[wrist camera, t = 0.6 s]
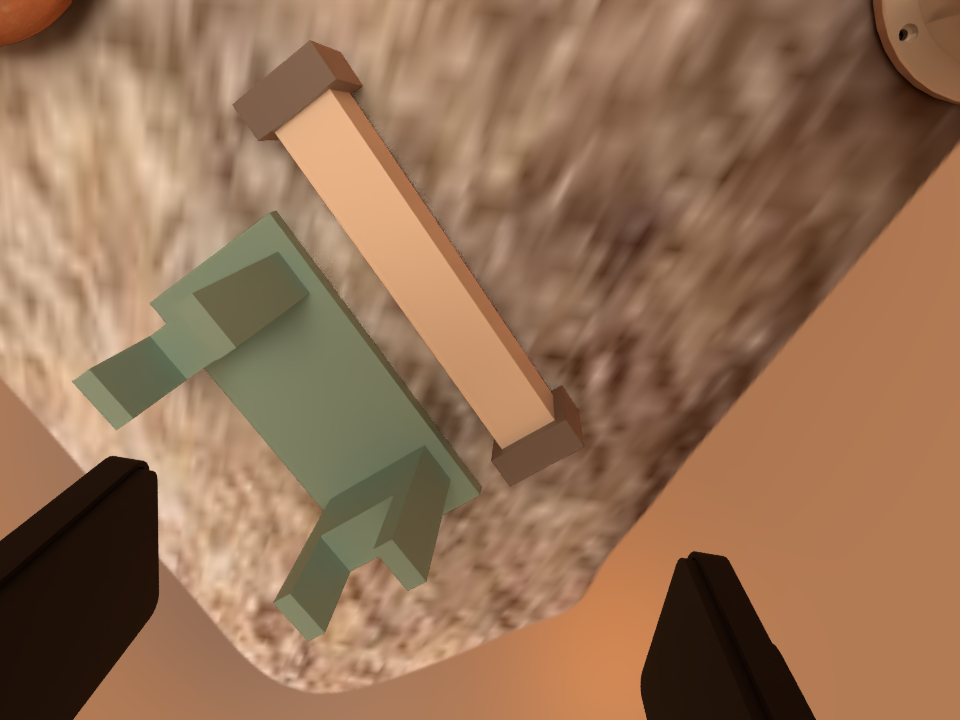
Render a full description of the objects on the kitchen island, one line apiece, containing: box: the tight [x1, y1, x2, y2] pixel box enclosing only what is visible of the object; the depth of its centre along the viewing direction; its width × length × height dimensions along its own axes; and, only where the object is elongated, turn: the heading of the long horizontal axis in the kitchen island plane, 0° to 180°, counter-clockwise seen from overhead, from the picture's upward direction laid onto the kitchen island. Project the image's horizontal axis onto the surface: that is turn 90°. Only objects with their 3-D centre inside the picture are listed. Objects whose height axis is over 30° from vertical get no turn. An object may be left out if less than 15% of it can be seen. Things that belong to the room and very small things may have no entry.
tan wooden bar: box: [232, 40, 584, 486], centre depth 35 cm, size 5×25×5 cm, turn 34°
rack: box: [73, 211, 481, 641], centre depth 36 cm, size 10×22×11 cm, turn 34°
